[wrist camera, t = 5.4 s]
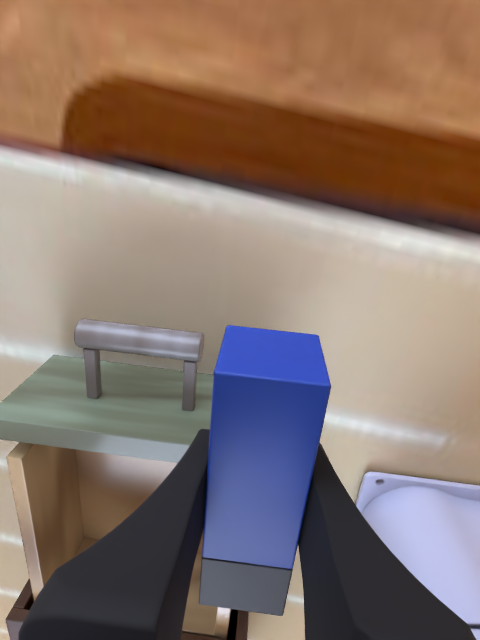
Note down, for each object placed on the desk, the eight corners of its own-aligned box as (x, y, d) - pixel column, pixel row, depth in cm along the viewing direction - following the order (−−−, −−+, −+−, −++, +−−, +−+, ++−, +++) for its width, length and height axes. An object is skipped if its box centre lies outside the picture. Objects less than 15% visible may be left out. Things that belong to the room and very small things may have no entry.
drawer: (45, 288, 22) (-35, 335, 16) (277, 315, 21) (278, 373, 16) (73, 529, 30) (25, 617, 24) (242, 553, 29) (235, 649, 23)
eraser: (226, 323, 12) (213, 371, 10) (318, 334, 12) (331, 385, 10) (211, 529, 16) (198, 604, 14) (281, 538, 16) (283, 616, 13)
